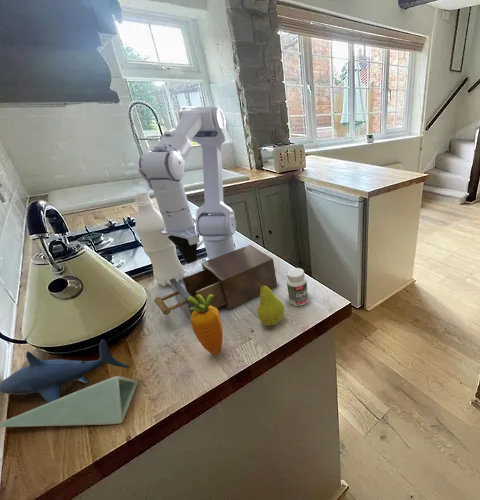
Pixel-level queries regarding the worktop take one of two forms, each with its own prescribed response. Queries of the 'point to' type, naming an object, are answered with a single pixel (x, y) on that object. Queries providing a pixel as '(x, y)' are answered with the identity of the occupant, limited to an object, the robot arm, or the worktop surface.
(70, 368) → the toy
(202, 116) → the robot arm
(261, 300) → the fruit
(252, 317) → the worktop surface
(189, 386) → the worktop surface
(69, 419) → the hollow green wedge
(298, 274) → the pill bottle
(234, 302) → the cabinet
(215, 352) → the carrot
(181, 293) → the drawer
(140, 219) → the water bottle
